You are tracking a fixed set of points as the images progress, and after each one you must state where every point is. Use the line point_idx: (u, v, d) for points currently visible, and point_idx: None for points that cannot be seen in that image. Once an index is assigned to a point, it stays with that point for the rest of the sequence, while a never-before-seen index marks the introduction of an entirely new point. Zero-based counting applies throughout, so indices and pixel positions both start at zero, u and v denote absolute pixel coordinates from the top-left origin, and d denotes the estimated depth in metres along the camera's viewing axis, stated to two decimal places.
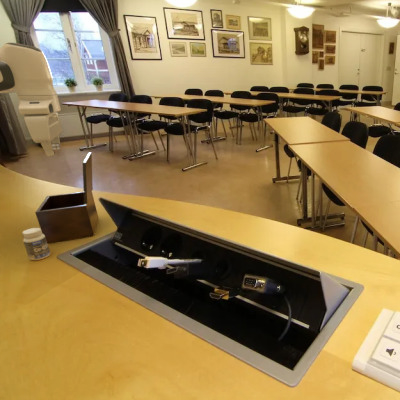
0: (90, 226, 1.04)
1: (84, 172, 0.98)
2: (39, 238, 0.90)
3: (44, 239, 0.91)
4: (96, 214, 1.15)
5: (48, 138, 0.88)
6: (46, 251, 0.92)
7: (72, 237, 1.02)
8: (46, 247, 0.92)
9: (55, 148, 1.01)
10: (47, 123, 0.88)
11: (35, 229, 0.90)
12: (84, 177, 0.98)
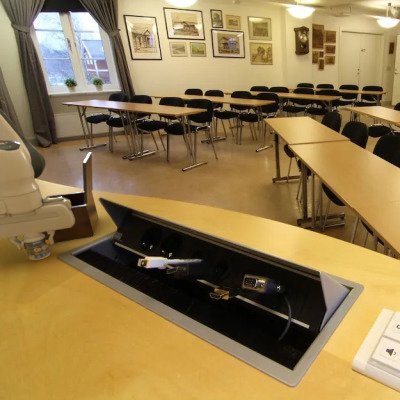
0: (90, 226, 1.04)
1: (84, 172, 0.98)
2: (39, 238, 0.90)
3: (44, 239, 0.91)
4: (96, 214, 1.15)
5: None
6: (46, 251, 0.92)
7: (72, 237, 1.02)
8: (46, 247, 0.92)
9: None
10: None
11: None
12: (84, 177, 0.98)
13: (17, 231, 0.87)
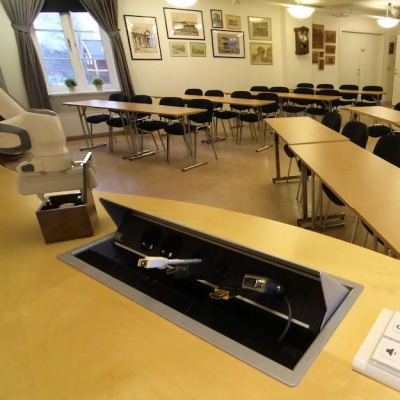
0: (90, 226, 1.04)
1: (84, 172, 0.98)
2: None
3: None
4: (96, 214, 1.15)
5: (19, 192, 0.97)
6: None
7: (72, 237, 1.02)
8: None
9: (79, 200, 1.07)
10: (17, 180, 0.95)
11: (69, 204, 1.06)
12: (84, 177, 0.98)
13: (50, 188, 1.00)
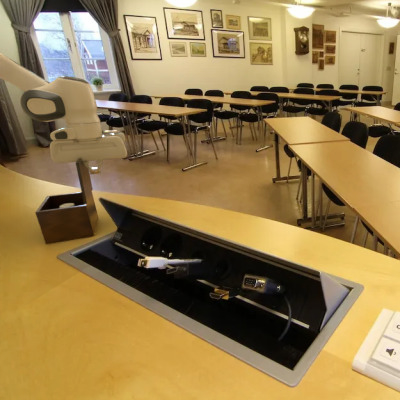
0: (90, 226, 1.04)
1: (79, 172, 0.97)
2: None
3: None
4: (96, 214, 1.15)
5: (52, 160, 0.98)
6: None
7: (72, 237, 1.02)
8: None
9: None
10: (51, 147, 0.97)
11: (69, 204, 1.06)
12: (80, 177, 0.98)
13: (82, 157, 1.01)
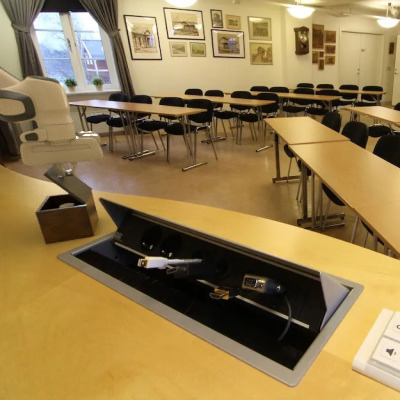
0: (90, 226, 1.04)
1: (54, 181, 0.95)
2: None
3: None
4: (96, 214, 1.15)
5: (23, 162, 0.95)
6: None
7: (72, 237, 1.02)
8: None
9: None
10: (21, 149, 0.94)
11: (69, 204, 1.06)
12: (59, 185, 0.96)
13: (54, 159, 0.98)
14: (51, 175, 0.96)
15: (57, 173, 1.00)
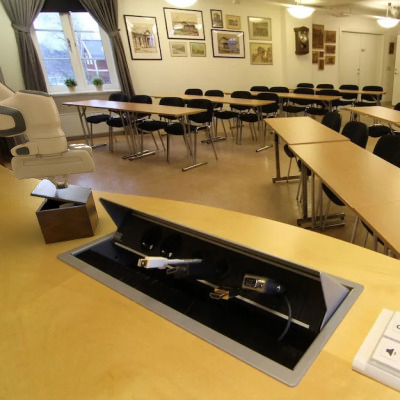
0: (90, 226, 1.04)
1: (43, 196, 0.95)
2: None
3: None
4: (96, 214, 1.15)
5: (15, 176, 0.95)
6: None
7: (72, 237, 1.02)
8: None
9: None
10: (12, 163, 0.94)
11: (69, 204, 1.06)
12: (50, 198, 0.96)
13: (46, 172, 0.98)
14: (38, 192, 0.95)
15: (46, 188, 1.00)
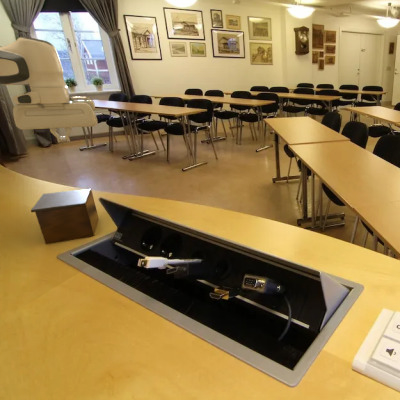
0: (90, 226, 1.04)
1: (44, 209, 0.96)
2: None
3: None
4: (96, 214, 1.15)
5: None
6: None
7: (72, 237, 1.02)
8: None
9: None
10: (14, 112, 0.93)
11: None
12: (51, 208, 0.97)
13: (48, 123, 0.98)
14: (38, 207, 0.97)
15: (45, 201, 1.01)
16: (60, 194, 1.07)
